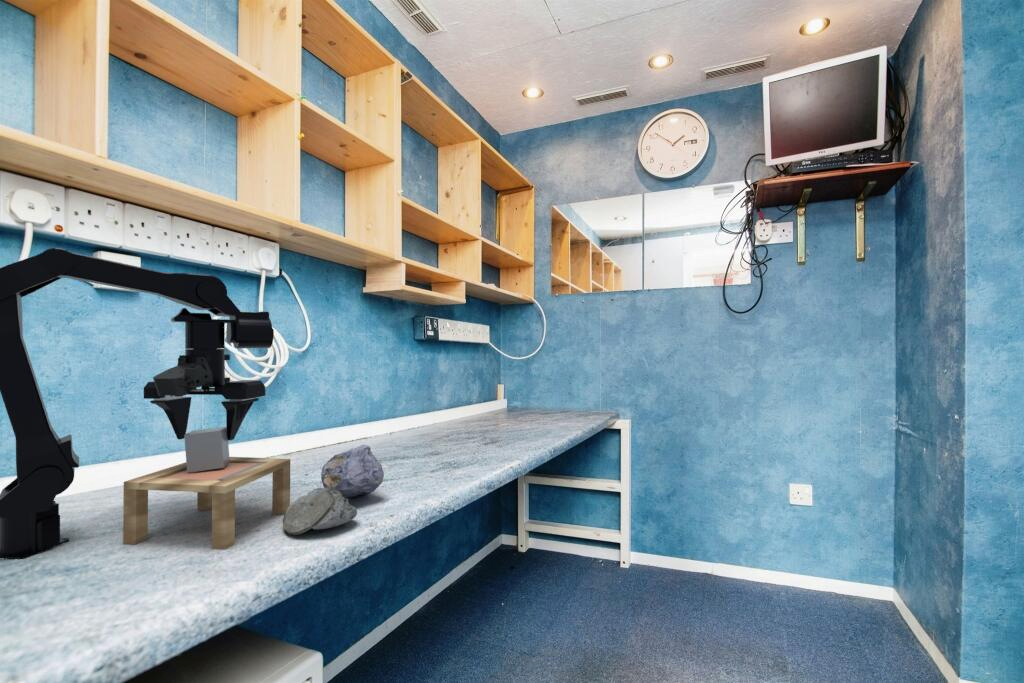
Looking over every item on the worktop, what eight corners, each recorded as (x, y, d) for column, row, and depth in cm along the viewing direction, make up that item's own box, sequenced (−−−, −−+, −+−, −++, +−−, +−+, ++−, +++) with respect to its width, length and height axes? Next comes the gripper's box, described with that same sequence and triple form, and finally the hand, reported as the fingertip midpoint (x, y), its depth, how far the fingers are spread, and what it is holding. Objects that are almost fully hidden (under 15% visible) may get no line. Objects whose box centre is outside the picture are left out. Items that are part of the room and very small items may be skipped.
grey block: (187, 473, 75) (184, 434, 75) (195, 466, 79) (192, 430, 79) (223, 467, 76) (220, 430, 76) (229, 461, 81) (226, 426, 81)
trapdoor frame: (123, 543, 69) (123, 481, 69) (205, 506, 85) (206, 455, 85) (224, 549, 67) (225, 486, 67) (290, 510, 83) (290, 458, 83)
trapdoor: (159, 485, 72) (159, 478, 72) (209, 467, 82) (209, 462, 82) (224, 486, 71) (224, 479, 71) (266, 468, 81) (266, 462, 81)
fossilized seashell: (283, 501, 80) (319, 463, 77) (330, 519, 84) (365, 485, 82) (270, 550, 72) (310, 510, 69) (323, 568, 76) (362, 531, 73)
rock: (358, 488, 96) (359, 438, 96) (390, 499, 89) (390, 446, 89) (307, 502, 87) (307, 448, 87) (337, 515, 81) (337, 456, 81)
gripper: (112, 350, 75) (112, 449, 75) (221, 349, 73) (222, 451, 73) (170, 349, 86) (171, 435, 86) (267, 348, 84) (267, 437, 84)
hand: (205, 439), depth 82 cm, fingers open, 9 cm apart
